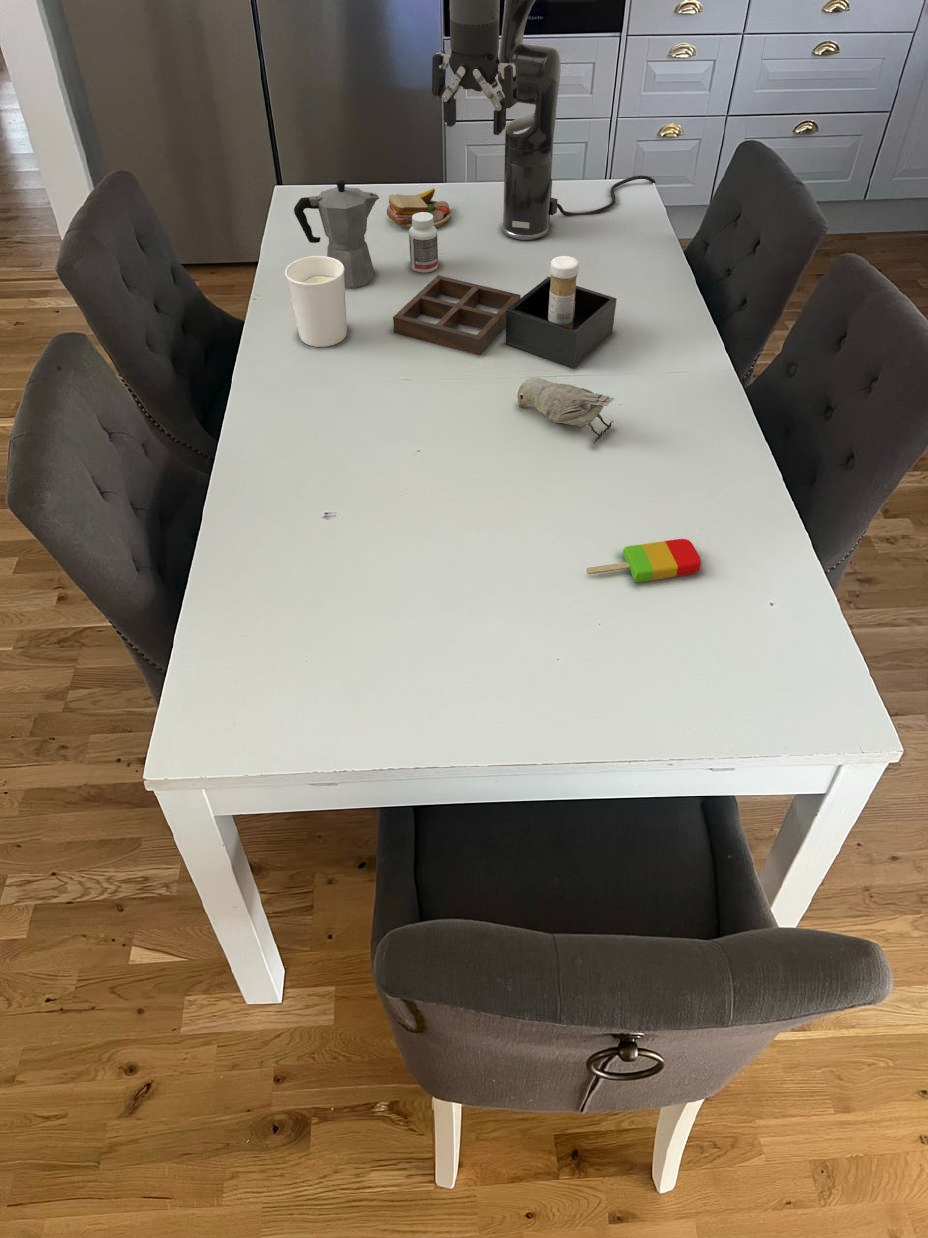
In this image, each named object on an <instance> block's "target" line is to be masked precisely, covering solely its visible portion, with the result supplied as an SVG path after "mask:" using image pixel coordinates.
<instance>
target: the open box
mask: <svg viewBox="0 0 928 1238" xmlns="http://www.w3.org/2000/svg"><path fill="white" fill-rule="evenodd" d="M550 285H551V276H547V277H546V278H545V279H543V280H542V281H540V282H539V283H538V284H537V285H536V286H534V287H533V288H532V289H531V290H529V291H528V292H526V293H525V294H524V295H523V296H521V298H520V299H519V300H518V301H517V302H515V303H514V304H513V305H511V306H510V307H509V308H508V309H507V310H506V326H505V343H504V345H506V346H508V347H511V348H514V349H517V350H520V351H521V352H522V351H523V352H525V353H528V354H530V355H533V356H536V357H540V358H542V359H545V360H548V361H551V362H553V363H556V364H558V365H562V366H564V367H567V368H570V369H572V370H573V369H575V368H576V367H577V366H578V365H580V364H581V363H582V362H583V360H585V359H586V358H587V357H588V356H589V355H591V353H592V352H594V351H595V350H596V349H597V348H598V347H599V346H601V344H603V342H605V341H606V340H607V339H609V337H610V336H611V335H612V334H613V331H614V323H615V315H616V306H617V300H618V298H616V297H613V296H611V295H607V294H604V293H601V292H598V291H594V290H592V289H588V288H585V287H582V286H579V285H576V292H575V310H574V318H573V328H572V329H571V328H568V327H565V326H562V325H559V324H556V323H553V322H550V321H548V312H549V296H550Z"/></svg>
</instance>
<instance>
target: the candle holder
mask: <svg viewBox="0 0 928 1238" xmlns="http://www.w3.org/2000/svg"><path fill="white" fill-rule="evenodd" d="M284 275H285V278H286V283H287V287H288V293H289V296H290V302H291V305H292V310H293V313H294V314H293V315H294V319H295V324H296V328H297V331H298V332H297V333H298V335H299V338H300V340H301V341H302V343H304V344H306V345H308V346H311V347H314V348H315V347H316V348H326V347H331V346H334V345H337V344H339V343H340V342H342V341H344V339H345V338H346V336H347V335H348V334H347V331H348V326H347V307H346V306H347V303H346V302H347V301H346V288H345V280H344V266H343V264H342V263H341V262H340V261H338V260H337V259H334V258H331V257H327V255H309V256H305V257H301V258H298V259H296V260H294V261H292V262H291V263H289V264H287V266H286V268H285V270H284Z"/></svg>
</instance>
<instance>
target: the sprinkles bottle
mask: <svg viewBox="0 0 928 1238" xmlns="http://www.w3.org/2000/svg"><path fill="white" fill-rule="evenodd" d="M579 265H580V264H579V260H578V259H577V258H575V257H573V256H570V255H569V256H568V255H559V256H556V257H554V258H553V259H551V261H550V266H549V273H550V277H551V285H550V296H549V312H548V321H550V322H553V323H556V324H559V325H562V326H565V327H568V328H571V329H572V328H573V318H574V310H575V292H576V286H577V277H578V274H579Z"/></svg>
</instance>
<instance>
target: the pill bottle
mask: <svg viewBox="0 0 928 1238" xmlns="http://www.w3.org/2000/svg"><path fill="white" fill-rule="evenodd" d="M433 223H434V221H433V215H432V214H430V213H427V212H420V213H416V214H414V215H413V216H412V225H413V226H412V227H411V228H410V229H409V230H408V243H409V260H410V261H409V262H410V268H411V269H412V270H413V271H414V272H418V273H426V274H427V273H432V272H434V271H435V270H436V269H437V268H438V267H439V247H438V246H439V245H438V244H439V243H438V230H437V227H436V228H435V227H434V226H433Z"/></svg>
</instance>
